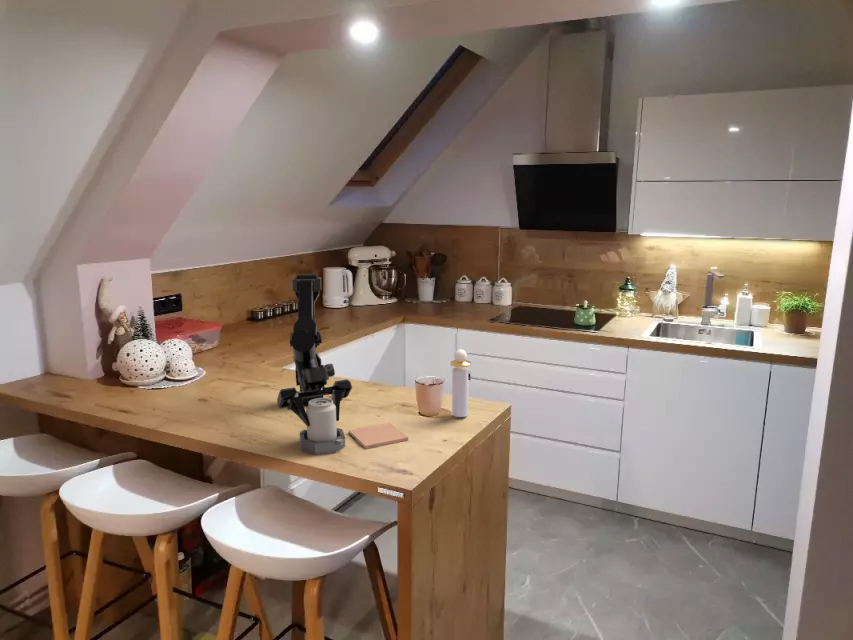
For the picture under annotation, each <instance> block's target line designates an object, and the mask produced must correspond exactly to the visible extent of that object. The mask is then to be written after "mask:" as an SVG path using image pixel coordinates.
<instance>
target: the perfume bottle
mask: <svg viewBox="0 0 853 640" xmlns="http://www.w3.org/2000/svg"><path fill="white" fill-rule="evenodd" d="M467 357H468V354H467V351H466V350H464V349H462V348H459V349H457V350H455V351H454V354H453V358H454V360H450V364H449V365H450V366H452V367H453V368H452V369H451V370H452V372H451V373H452V377H451V378H452V379H451V380H452V381H451V382H452V386H451V389H452V390H451V391H452V392H451V409H452V410H451V414H452V416H453V417H456V418H464V417H467V416H468V415H469V381H471V373H472V372H471V371H469V368H468V367H470V366H471V364H472V363H471V361H469V360H467Z"/></svg>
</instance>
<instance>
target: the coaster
mask: <svg viewBox="0 0 853 640" xmlns="http://www.w3.org/2000/svg"><path fill="white" fill-rule="evenodd" d="M348 434H349V435H350V436H352V438H353V439H354V440H356V442H358V444H360V445H361V446H362V448H364V449H365V450H369V449H372V448H373V449H374V448H377V447H381V446H387V445H392V444H397V443H401V442H406V441H409V436H407V435H406V434H404V432H403V431H401V430H400V429H399V428H397V427H396V426H394V425H393V424H392V423H391V422H384V423H380V424H379V423H378V424H373V425H369V426H363V427H358V428H354V429H349V430H348Z"/></svg>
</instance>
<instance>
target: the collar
mask: <svg viewBox="0 0 853 640" xmlns="http://www.w3.org/2000/svg"><path fill="white" fill-rule="evenodd" d="M344 433H345V432H344V430H343V428H340V427H339V428H338V427H337V438H335V439H333V440H331V441H321V442H314V441H311V440H307V429H303V430H300V431H299V446H301V447H300V451H301V452H302V451H304V452H303V453H306V452H307V453H306V454H311V455H313V454H314V455H315V456H318V455H319V454H320V455H327V454H329V453H330V454H334V453H336V451H337V452H339V451H340V450H342V449H343V448H345V447H346V437H345V434H344ZM320 455H319V456H320Z"/></svg>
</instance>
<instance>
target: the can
mask: <svg viewBox="0 0 853 640" xmlns="http://www.w3.org/2000/svg"><path fill="white" fill-rule="evenodd" d="M331 399H332V398H330V397H329V398H328V397H323V398H316V399H312V400H310V401H309V402H308V404H309V405H308V406H307V405H306V407H305V411H306V414H307V417H308V420H309V426H306V430H307V440H311V441H314V442H321V441H331V440H333V439H335V438H337V428H338V427H337V421H336V406H335V405H334V404H333V400H331Z"/></svg>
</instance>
